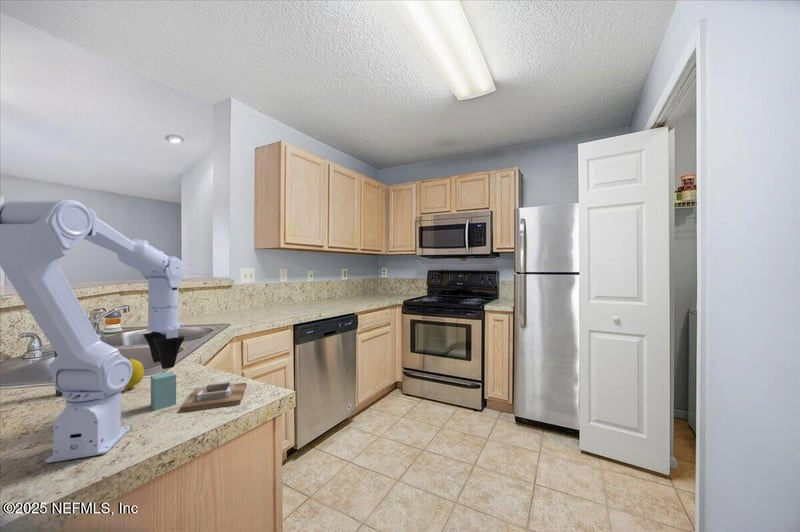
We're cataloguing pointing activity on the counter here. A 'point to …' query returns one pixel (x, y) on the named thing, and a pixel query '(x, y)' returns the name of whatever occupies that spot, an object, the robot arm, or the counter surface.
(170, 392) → the square peg
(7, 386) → the counter surface
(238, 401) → the socket
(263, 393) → the counter surface
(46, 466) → the counter surface
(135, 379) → the lemon
